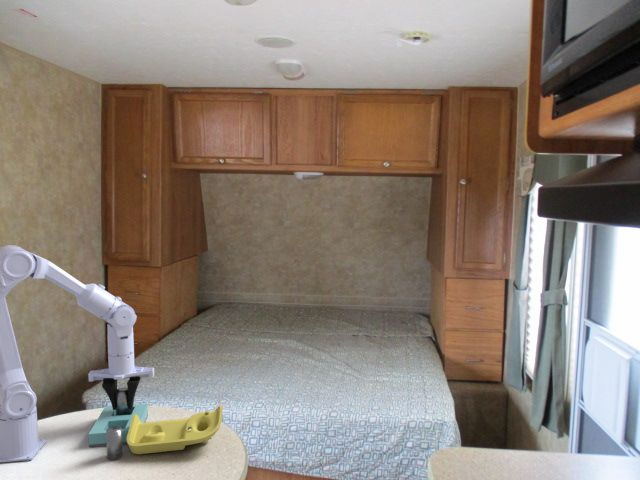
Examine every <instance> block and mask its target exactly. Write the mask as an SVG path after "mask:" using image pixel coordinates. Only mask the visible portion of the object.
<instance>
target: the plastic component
mask: <svg viewBox="0 0 640 480" xmlns="http://www.w3.org/2000/svg"><path fill="white" fill-rule="evenodd" d="M223 410H224V409H223V405H221V404H220V405H218V406H217V407H216V409H215V410H212V411H209V410H206V411H203V412H197V413H194V414H193V415H191V416H190V417H188V418H178V419H177V418H176V419H168V420H167V419H165V420H158V421H157V420H156V421H148V422H147V421H146V422H145V423H141V421H140V419H139V417H138V415H137V414H133V416H132V420H131V424H130V427H129V431H128V435H127V443H128V444H127V446H128V448H129V451H130V452H131V453H132V454H134V455H144V454H154V453H155V454H156V453H162V452H175V451H181V450H182V451H183V450H184V449H185V447H186V446H191V445H195V444H199V443H201V444H203V443H209V440H212V439H213V437H214V436H215V435H216V433H217V432H218V431H219V430H220V427H221V425H222V420H223Z"/></svg>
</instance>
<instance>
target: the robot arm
mask: <svg viewBox="0 0 640 480" xmlns="http://www.w3.org/2000/svg"><path fill="white" fill-rule="evenodd" d="M28 277H30V278H31V279H33V280H43V279H44V280H45V279H46V280H47V281H49V282H50V283H52V284H54V285H56V286H58V287H60V288H61V289H63V290H65V291H66V292H68V293H70V294H71V295H74V296H75V298H76V303H77V306H79V307H81V308H82V309H84V310H86V311H87V312H89V313H90V314H92V315H95V316H96V317H98V318H99V319H100V320H101V319H102V320H104V322H105V323H108V324H106V325H107V335H106V336H107V337H106V338H107V356H108V357H107V359H108V368H103V369H97V370H90V371H89V372H88V373H87V374H88V376H87V377H88V382H94V381H102V383H101V386H102V387H101V388H102V389H103V390H104V391H105V393H106V395H107V396H108V398H109V401H110V405H111V406H112V408H113V410H116V390H117V389H118V380H122V379H123V380H124V379H128V380H127V382H126V388H128V396H129V400H128V407H129V409H132V407H133V405H134V402H135V397H136V396H135V395H136V392H137V389H138V386H139V384H140V381H141V379H142V378H149V379H154V377H155V367H148V366H147V367H144V366H136V365H135V343H134V342H135V341H134V325H135V323H136V322H137V318H138V315H136V312H135V310H134V308H133V307H132V306H130V305H129V304H127V303H125V302H123V300H122V298H121V297H120V296H114V295H113V294H111V292H109V291H107V290H105V289H106V287H105V286H104V285H102V284H100V283H99V284H98V285H97V284H96V283H94V282H93V283H87V284H84V283H83V282H81V281H80V280H79V279H77V278H75V277H74V276H72V275H71V274H69V273H68V272H67V271H65V270H64V269H62V268H60V267H59V266H58V265H56V264H55V263H53V262H52V261H50V260H48V259H47V258H44V257H42V256H39V255H38V254H35V253H32V252H30V251H27V250H25V249H24V248H22V247H21V246H19V245H14V244H8V245H4V246H2V247H0V463H11V462H21V461H31V460H33V459H34V458H35V457H36V455H37V454H38V453H39V452H40V450H41V449H42V447H43V446H44V445H45V443H46V442H47V439H44V438H43V439H42V438H41V439H39V429H38V428H39V427H38V426H39V425H38V410H37V401H38V399H37V395H36V393H35V392H34V390H32V388H31V384H30V382H29V380H28V379H27V377H26V374H25V371H24V368H23V365H22V361H21V356H20V353H19V348H18V343H17V340H16V337H15V332H14V328H13V324H12V320H11V316H10V312H9V308H8V303H7V300H6V296H7V295H8V294H9V293H10V292H11V291H12V290H13V288H14V287H15V286H16V285H17V284H19V283H20V282H23V281H25V279H27V278H28Z"/></svg>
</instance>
